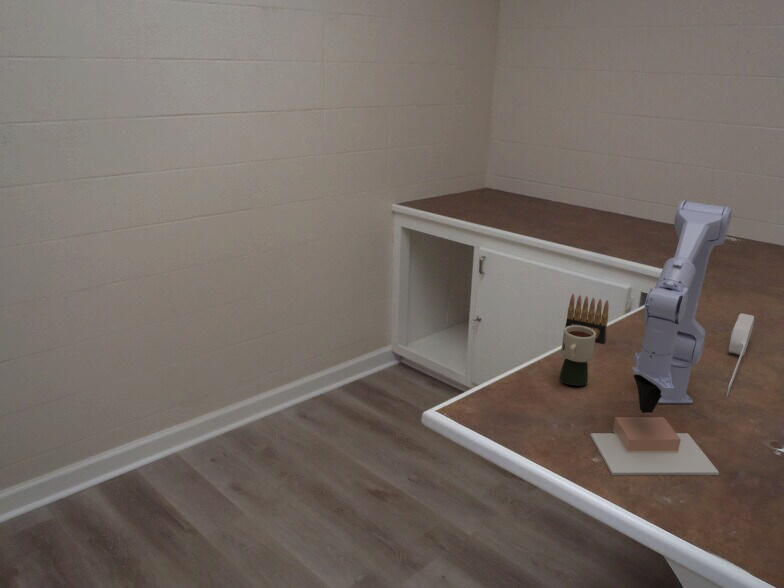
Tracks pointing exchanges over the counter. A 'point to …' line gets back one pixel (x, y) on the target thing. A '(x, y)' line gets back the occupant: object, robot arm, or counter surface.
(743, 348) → the white long handled piece
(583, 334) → the character mug
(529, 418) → the counter surface
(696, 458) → the board
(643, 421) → the tile
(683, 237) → the robot arm
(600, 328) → the ammunition clip
